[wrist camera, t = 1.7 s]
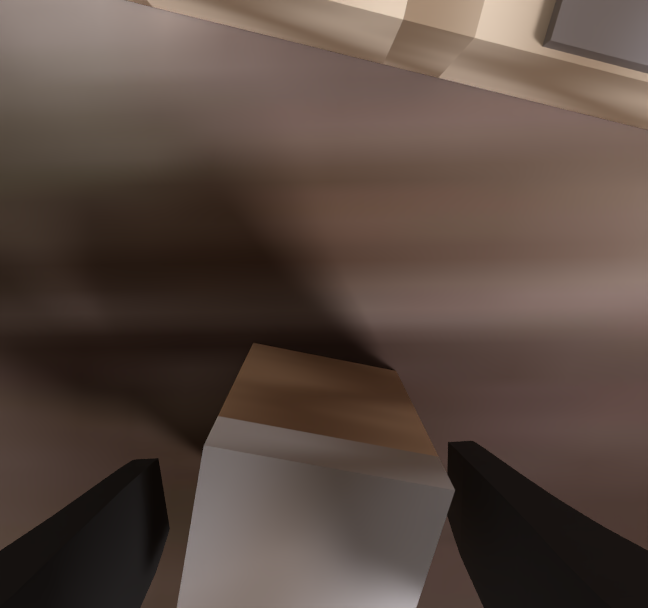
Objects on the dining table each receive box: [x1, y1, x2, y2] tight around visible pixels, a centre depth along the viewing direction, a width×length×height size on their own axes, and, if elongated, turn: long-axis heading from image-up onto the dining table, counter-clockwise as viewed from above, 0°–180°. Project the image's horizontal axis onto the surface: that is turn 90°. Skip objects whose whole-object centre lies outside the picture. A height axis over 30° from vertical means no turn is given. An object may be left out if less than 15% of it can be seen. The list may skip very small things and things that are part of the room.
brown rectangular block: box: [177, 343, 455, 608], centre depth 10 cm, size 4×4×6 cm
